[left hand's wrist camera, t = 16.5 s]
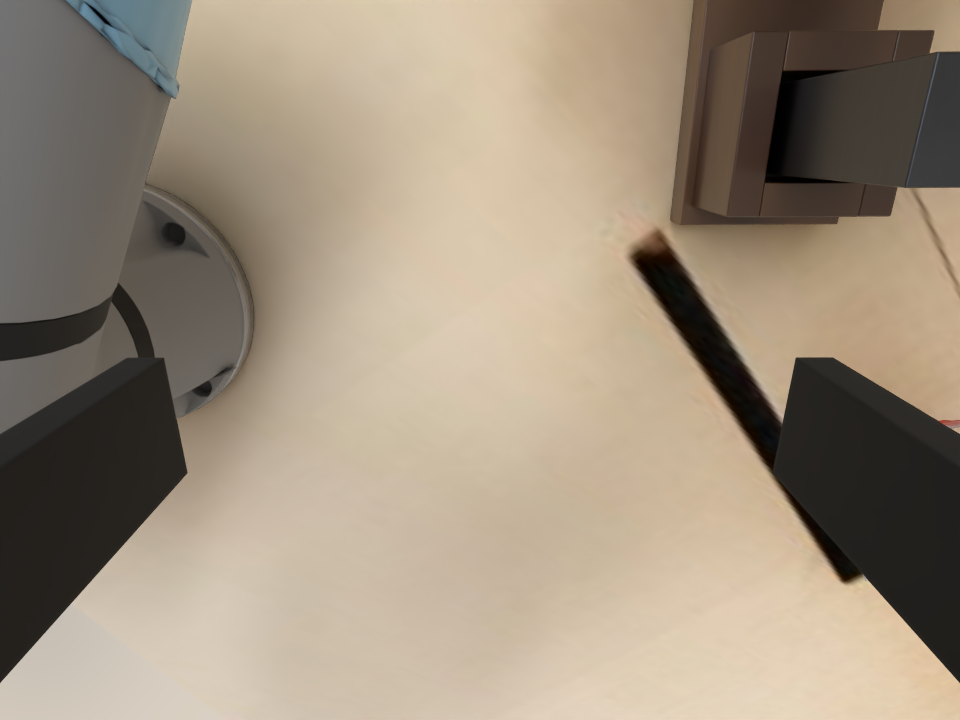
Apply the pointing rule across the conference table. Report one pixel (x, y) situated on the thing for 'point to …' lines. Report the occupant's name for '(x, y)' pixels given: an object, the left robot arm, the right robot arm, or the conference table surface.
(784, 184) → the holder
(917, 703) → the conference table surface
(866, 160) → the peg
